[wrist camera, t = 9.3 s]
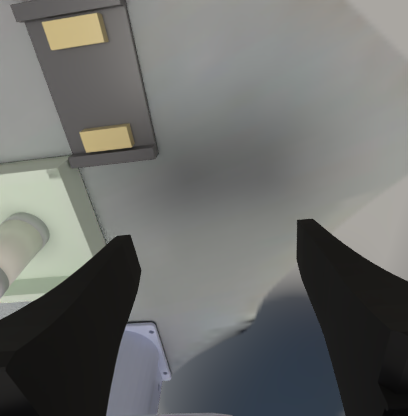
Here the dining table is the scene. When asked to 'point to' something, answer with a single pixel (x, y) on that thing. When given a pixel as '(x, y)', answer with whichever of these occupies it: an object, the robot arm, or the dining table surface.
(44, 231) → the fuse
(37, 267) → the tray
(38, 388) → the robot arm
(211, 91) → the dining table surface
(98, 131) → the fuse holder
